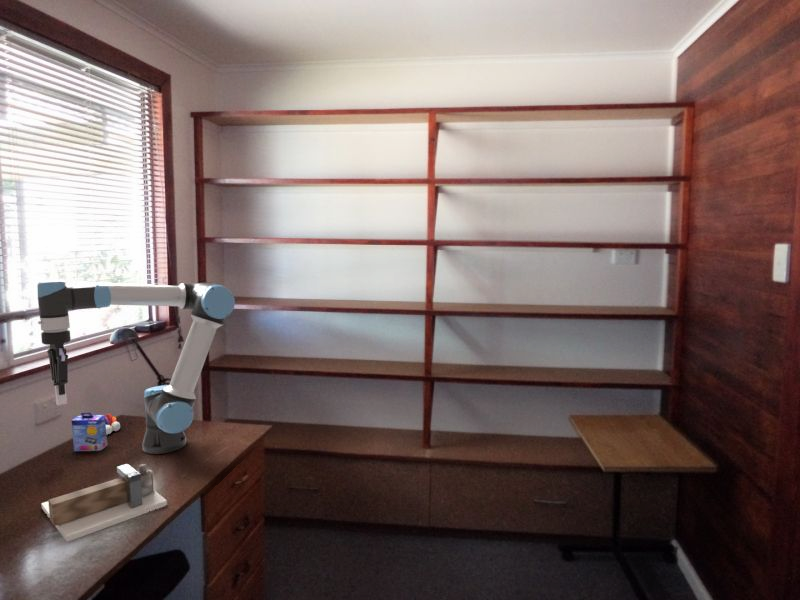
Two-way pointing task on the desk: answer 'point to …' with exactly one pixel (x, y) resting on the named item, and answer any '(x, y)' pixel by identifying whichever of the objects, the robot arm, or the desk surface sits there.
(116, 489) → the link
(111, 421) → the multicoloured rounded cluster
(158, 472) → the desk surface
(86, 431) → the ink cartridge box
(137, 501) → the bracket
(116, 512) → the board
